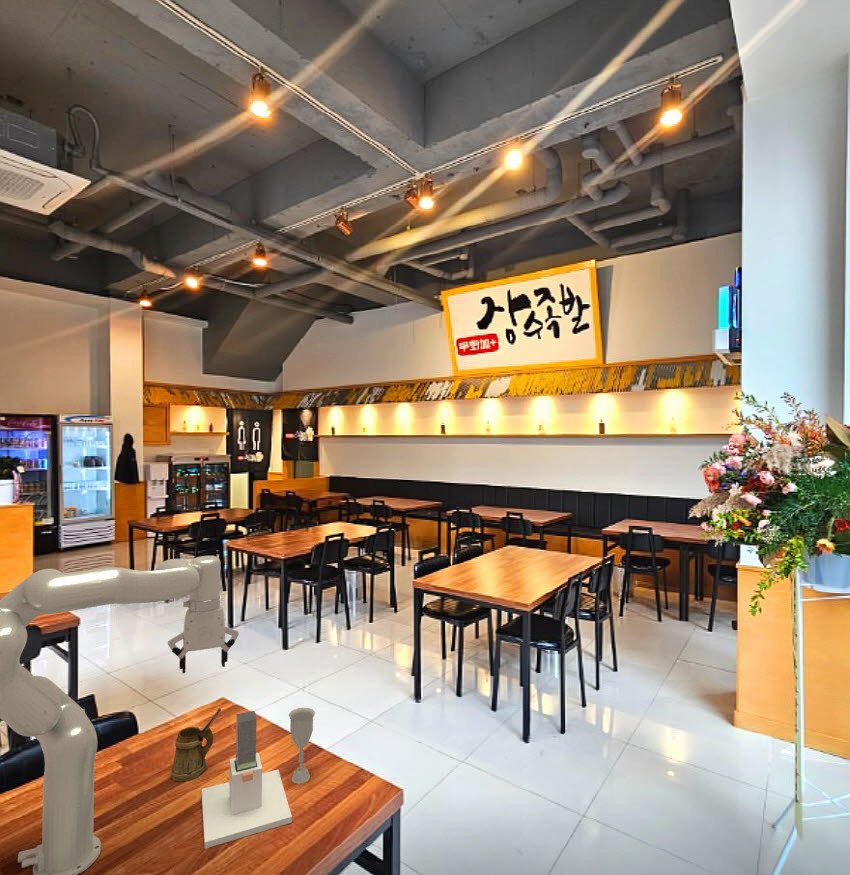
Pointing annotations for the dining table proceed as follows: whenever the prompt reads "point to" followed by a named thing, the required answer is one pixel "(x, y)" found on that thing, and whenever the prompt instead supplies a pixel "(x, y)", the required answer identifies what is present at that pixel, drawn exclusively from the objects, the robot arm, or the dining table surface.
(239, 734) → the column
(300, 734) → the chalice
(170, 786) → the dining table surface
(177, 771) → the wooden mug
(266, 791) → the stand
